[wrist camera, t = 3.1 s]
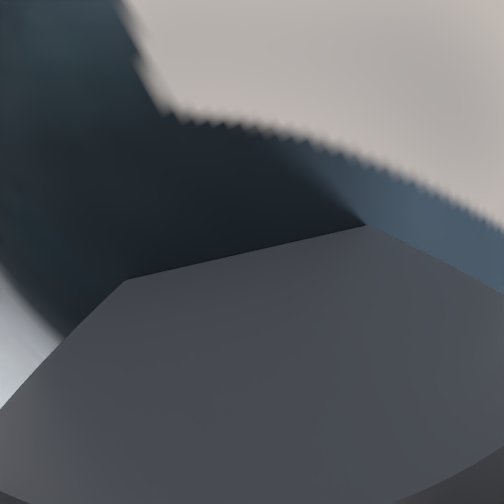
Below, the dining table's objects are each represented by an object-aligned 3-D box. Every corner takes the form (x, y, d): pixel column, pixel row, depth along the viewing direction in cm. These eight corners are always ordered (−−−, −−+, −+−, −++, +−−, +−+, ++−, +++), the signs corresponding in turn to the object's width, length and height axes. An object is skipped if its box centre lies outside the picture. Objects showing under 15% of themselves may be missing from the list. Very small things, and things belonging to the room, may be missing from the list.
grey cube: (367, 225, 9) (600, 358, 1) (378, 408, 11) (451, 563, 3) (124, 280, 9) (-45, 467, 2) (197, 445, 11) (175, 610, 3)
